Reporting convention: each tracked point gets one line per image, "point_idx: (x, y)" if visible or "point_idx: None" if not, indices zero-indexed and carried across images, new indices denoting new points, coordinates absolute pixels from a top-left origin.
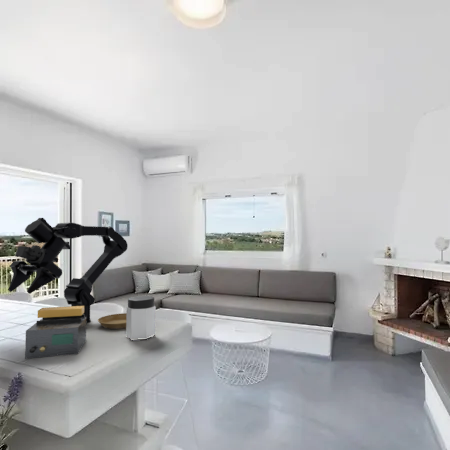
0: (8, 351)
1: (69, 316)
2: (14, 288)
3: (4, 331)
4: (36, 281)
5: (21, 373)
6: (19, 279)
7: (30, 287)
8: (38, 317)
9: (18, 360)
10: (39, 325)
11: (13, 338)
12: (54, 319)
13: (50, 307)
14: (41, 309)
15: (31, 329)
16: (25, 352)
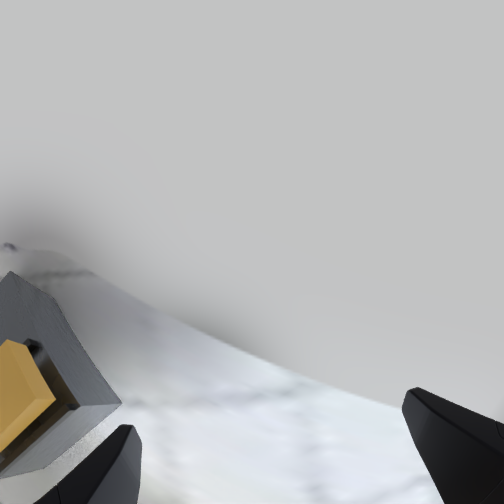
0: (139, 311)
1: (13, 453)
2: (415, 436)
3: (401, 409)
4: (56, 498)
5: (10, 248)
6: (473, 489)
7: (100, 447)
8: (23, 347)
9: (57, 284)
10: (15, 331)
11: (275, 396)
12: (38, 421)
13: (15, 415)
14: (11, 365)
15: (5, 286)
16: (45, 294)
